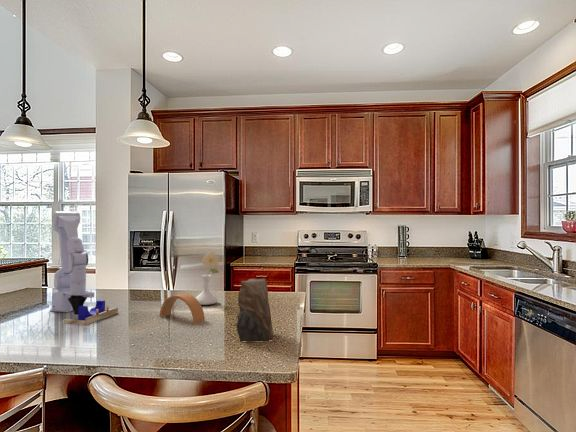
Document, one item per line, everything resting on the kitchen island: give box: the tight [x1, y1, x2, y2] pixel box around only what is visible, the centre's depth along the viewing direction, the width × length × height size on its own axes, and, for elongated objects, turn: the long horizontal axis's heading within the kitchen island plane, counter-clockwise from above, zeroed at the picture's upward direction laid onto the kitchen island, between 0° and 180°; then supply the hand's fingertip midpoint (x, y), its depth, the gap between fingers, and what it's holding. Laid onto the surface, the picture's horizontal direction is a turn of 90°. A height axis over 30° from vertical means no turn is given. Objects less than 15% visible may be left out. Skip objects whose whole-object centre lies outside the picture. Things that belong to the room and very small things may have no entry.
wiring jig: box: [62, 305, 119, 325], centre depth 150 cm, size 11×18×4 cm, turn 168°
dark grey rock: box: [236, 277, 274, 342], centre depth 128 cm, size 13×13×20 cm
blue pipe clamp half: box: [77, 299, 106, 321], centre depth 150 cm, size 12×4×6 cm, turn 170°
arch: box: [159, 293, 206, 325], centre depth 149 cm, size 6×20×10 cm, turn 60°
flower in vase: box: [195, 252, 220, 306], centre depth 175 cm, size 13×11×25 cm
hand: (77, 313), depth 151 cm, fingers closed
